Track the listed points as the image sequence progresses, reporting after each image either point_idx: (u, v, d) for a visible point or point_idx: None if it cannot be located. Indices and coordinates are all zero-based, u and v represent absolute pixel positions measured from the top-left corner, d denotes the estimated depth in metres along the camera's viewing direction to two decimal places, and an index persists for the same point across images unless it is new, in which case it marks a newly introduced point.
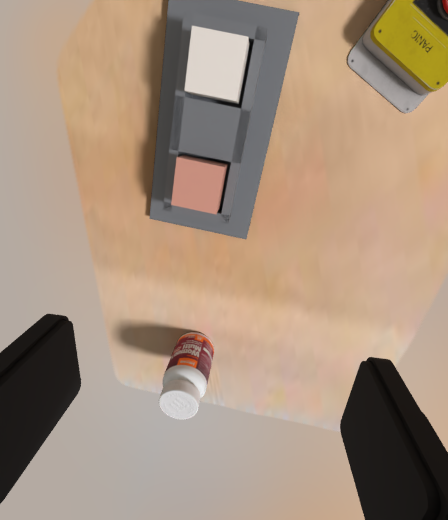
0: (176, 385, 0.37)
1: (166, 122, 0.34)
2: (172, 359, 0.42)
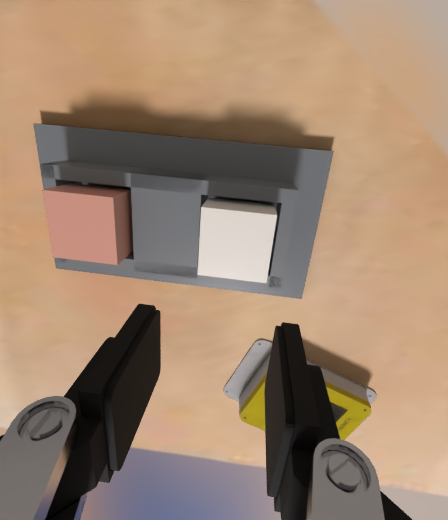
0: None
1: (176, 149, 0.24)
2: None
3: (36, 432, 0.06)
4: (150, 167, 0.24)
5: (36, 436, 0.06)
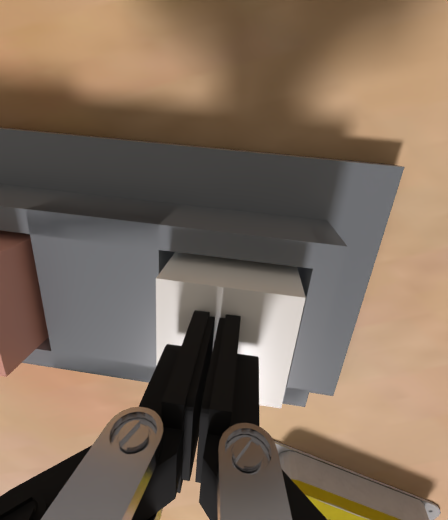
0: None
1: (124, 162, 0.14)
2: None
3: (125, 443, 0.06)
4: (83, 192, 0.14)
5: (124, 447, 0.06)
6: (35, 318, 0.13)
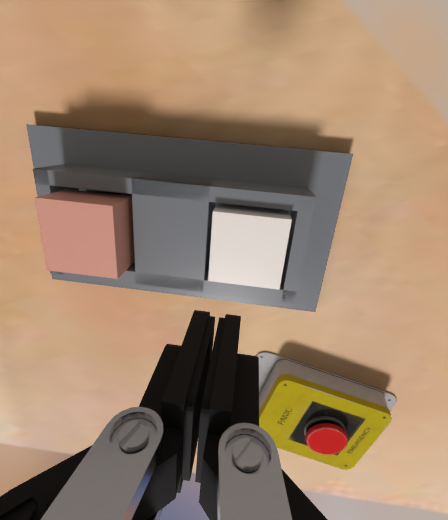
0: None
1: (181, 152, 0.22)
2: None
3: (125, 443, 0.06)
4: (153, 171, 0.23)
5: (124, 447, 0.06)
6: (128, 248, 0.21)
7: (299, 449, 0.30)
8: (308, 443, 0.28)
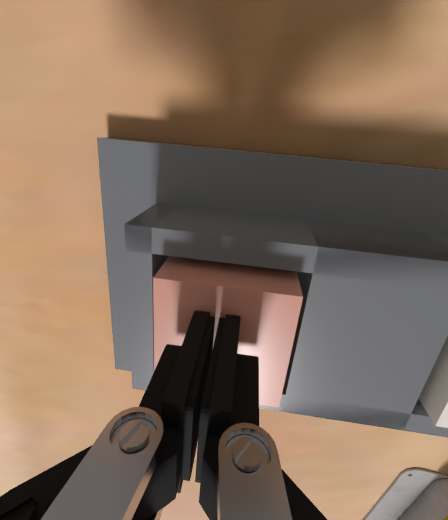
0: None
1: (371, 187, 0.12)
2: None
3: (125, 443, 0.06)
4: (311, 219, 0.13)
5: (124, 447, 0.06)
6: None
7: None
8: None
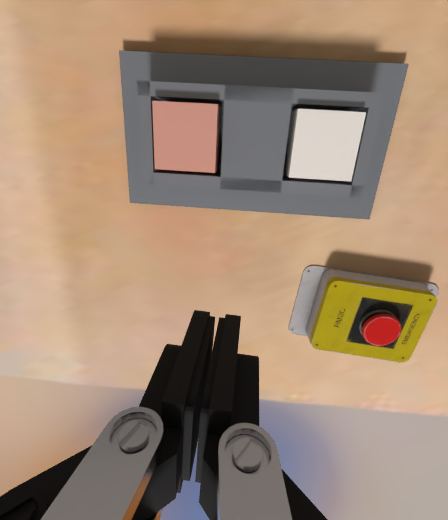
0: None
1: (258, 70, 0.25)
2: None
3: (125, 442, 0.06)
4: None
5: (124, 447, 0.06)
6: (218, 152, 0.25)
7: (357, 349, 0.33)
8: (365, 337, 0.31)
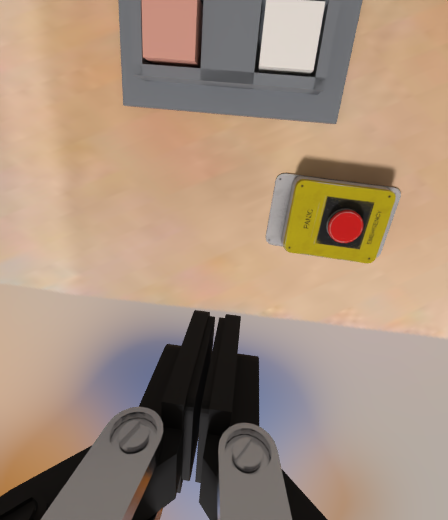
0: None
1: None
2: None
3: (125, 443, 0.06)
4: None
5: (124, 447, 0.06)
6: (199, 48, 0.29)
7: (327, 251, 0.36)
8: (331, 233, 0.34)
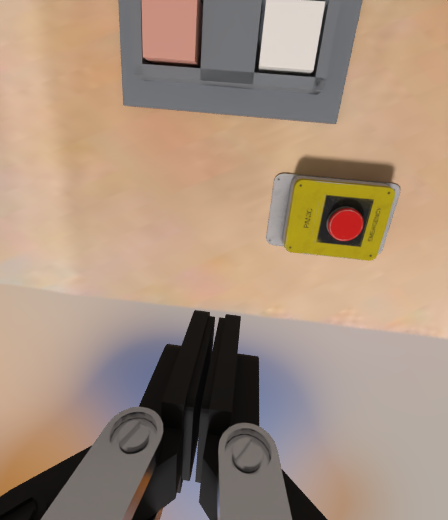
0: None
1: None
2: None
3: (125, 443, 0.06)
4: None
5: (124, 447, 0.06)
6: (199, 48, 0.29)
7: (328, 250, 0.36)
8: (331, 232, 0.34)
